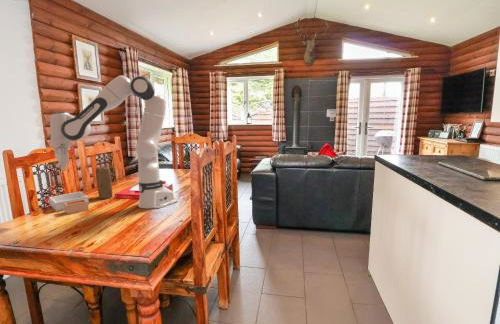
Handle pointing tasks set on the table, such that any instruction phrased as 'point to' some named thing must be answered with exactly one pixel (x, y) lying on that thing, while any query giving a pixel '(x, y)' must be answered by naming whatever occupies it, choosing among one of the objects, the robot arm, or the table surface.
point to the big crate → (66, 200)
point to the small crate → (76, 206)
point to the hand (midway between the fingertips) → (62, 169)
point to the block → (104, 182)
